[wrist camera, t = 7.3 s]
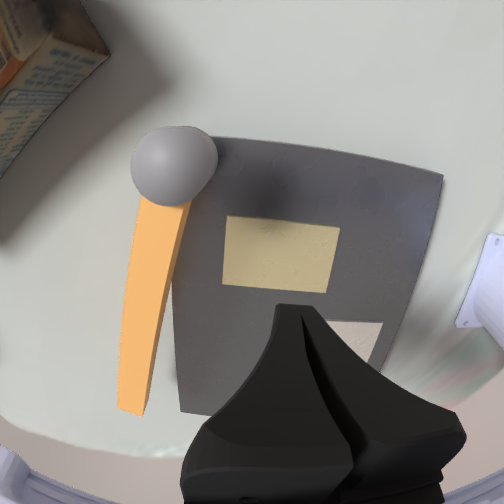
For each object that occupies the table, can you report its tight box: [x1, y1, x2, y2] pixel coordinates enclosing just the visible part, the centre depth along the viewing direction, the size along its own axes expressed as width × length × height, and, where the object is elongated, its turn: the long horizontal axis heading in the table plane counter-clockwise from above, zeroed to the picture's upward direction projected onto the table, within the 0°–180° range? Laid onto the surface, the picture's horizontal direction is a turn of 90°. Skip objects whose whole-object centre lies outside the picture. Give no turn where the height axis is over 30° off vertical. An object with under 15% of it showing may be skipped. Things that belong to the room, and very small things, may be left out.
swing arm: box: [117, 126, 218, 417], centre depth 15 cm, size 18×3×3 cm, turn 162°
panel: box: [172, 136, 444, 416], centre depth 18 cm, size 15×21×2 cm
